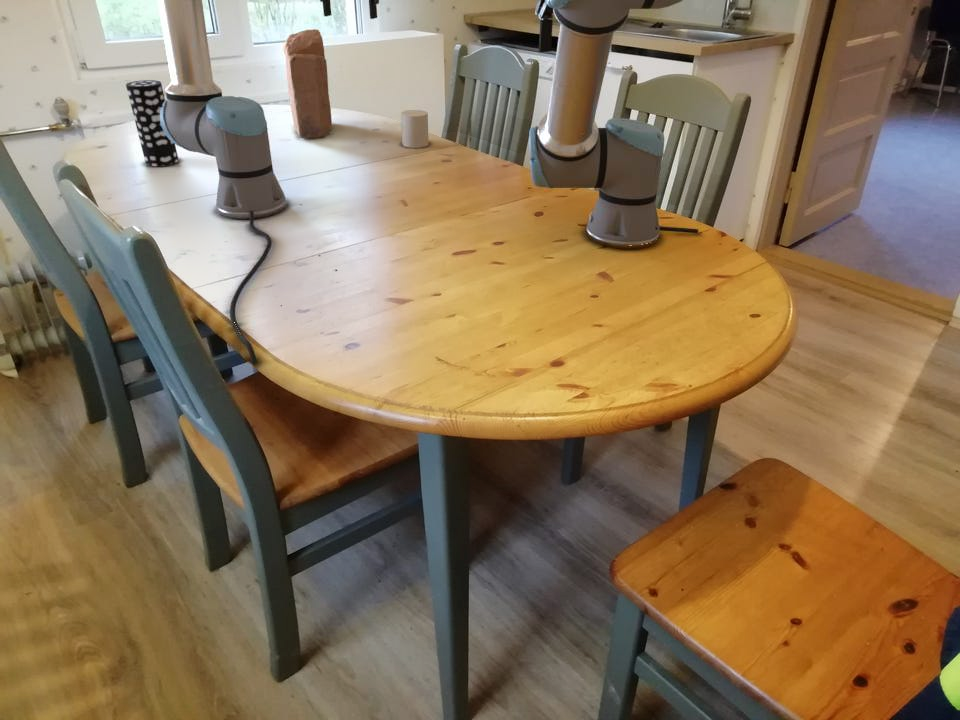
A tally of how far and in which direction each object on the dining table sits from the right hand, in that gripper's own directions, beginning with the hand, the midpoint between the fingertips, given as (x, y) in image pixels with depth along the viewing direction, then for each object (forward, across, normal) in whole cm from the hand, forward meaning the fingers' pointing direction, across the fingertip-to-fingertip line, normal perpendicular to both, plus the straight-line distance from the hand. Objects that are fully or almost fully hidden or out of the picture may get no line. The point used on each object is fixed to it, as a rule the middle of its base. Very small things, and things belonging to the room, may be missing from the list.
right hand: (559, 57), depth 150 cm
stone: (+32, -82, -40) cm, 96 cm away
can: (+32, -55, -15) cm, 65 cm away
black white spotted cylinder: (+21, -64, -85) cm, 108 cm away
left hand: (-2, -58, -31) cm, 66 cm away
